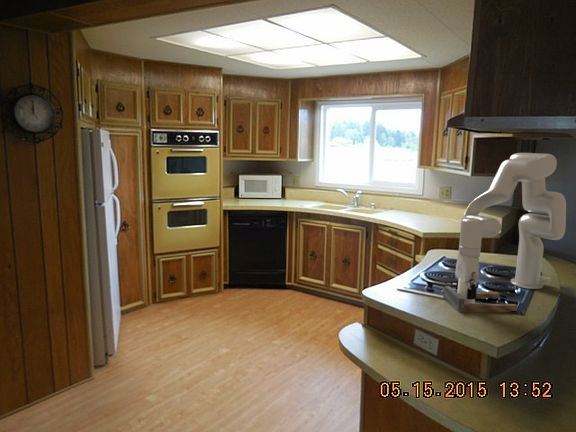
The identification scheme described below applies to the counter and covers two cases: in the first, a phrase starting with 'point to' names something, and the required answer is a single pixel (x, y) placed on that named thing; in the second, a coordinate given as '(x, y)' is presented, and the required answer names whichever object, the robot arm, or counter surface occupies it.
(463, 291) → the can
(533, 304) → the counter surface
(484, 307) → the guide track
